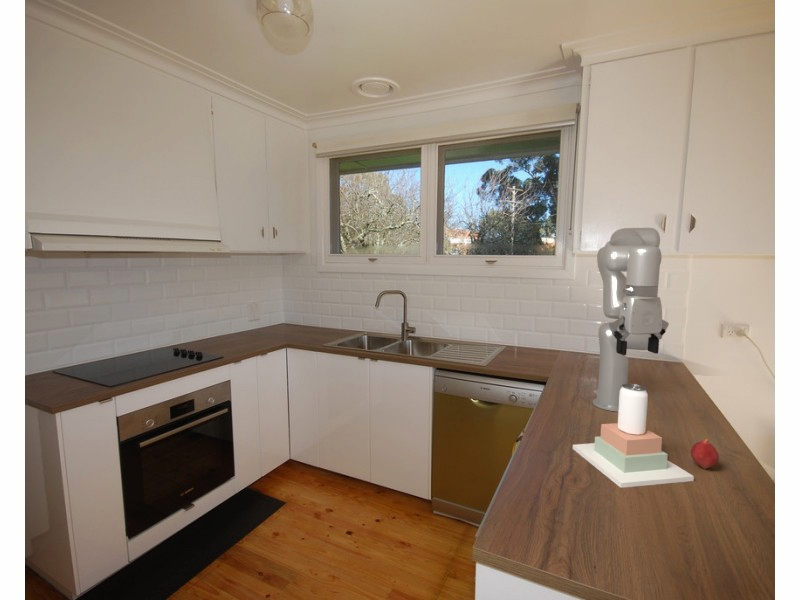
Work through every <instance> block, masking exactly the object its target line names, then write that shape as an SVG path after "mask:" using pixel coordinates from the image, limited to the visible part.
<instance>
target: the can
mask: <svg viewBox="0 0 800 600" xmlns="http://www.w3.org/2000/svg"><path fill="white" fill-rule="evenodd" d="M648 398H649V395H648V392H647V387H645V386H643V385H641V384H636V383H627V384H623V385H622V388H621V389H620V395H619V411H618V412H617V423H618V428H619V430H620V431H622V432H624V433H627V434H631V435H643V434H644V433H645V430H646V429H647V428H646V427H647V416H648V415H647V413H648V401H649V400H648Z"/></svg>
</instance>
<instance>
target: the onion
mask: <svg viewBox="0 0 800 600" xmlns="http://www.w3.org/2000/svg"><path fill="white" fill-rule="evenodd" d="M690 456H691V458H692V459H693V461H694V462H695V463H696V464H697V465H698V466H700V468H702V469H704V470H706V469H708V468H711V467H713V466H715V465H716V464H718V463H719V460H720V459H719V458H720V455H719V452H718V451H717V449H716V447H715V446H714V445H712V444H711V443H710V442H709V439H703V440H701V441H699V442H698V441H697V442H696V443H694V444H693V445H692V447H691V449H690Z"/></svg>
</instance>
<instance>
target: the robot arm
mask: <svg viewBox="0 0 800 600" xmlns="http://www.w3.org/2000/svg"><path fill="white" fill-rule="evenodd" d="M660 244H661V237H660V233H659V231H658V230H657V229H655V228H654V227H626V228H625V227H624V228H620V229H617V230H616V231H614V232H613V233H612V234H611V236H610V238H609V241H607V242H606V244H605V245H604V246H603V247H601V248H599V249H598V252H597V254H596V255H597V257H596V263H597V269H598V271H599V274H600V276H601V279H602V282H603V285H602V287H603V289H602V291H603V293H602V309H603V314H604V316H605V317H606V318H609V319H613V320H615V321H609V322H605V323H602V324H601V325H600V326H599V328H598V341H599V365H598V366H599V367H598V368H599V369H598V381H597V382H598V385H597V388H596V389H594V390H593V393H594V394H595V395H596V397H595V398H593V399H592V404H593V406H595V407H597V408H598V409H602V410H605V411H611V412H617V413H618V411H619V395H620V389H621V388H622V385H623V384H629V383H628V382H629V381H628V380H629V367H630V366H629V365H630V364H629V359H628V357H627V356H626V355H627V350H632V351H633V350H637V351H648V352H650V353H653V354H658V353H659V347H660V340H662V339H663V335H664V334H665V333H666V332H667V331H666V330H667V329H668V327H669V325H670V323H669V322H668V321H667V320H664V319H663V307H662V301H661V297H658V293H659V281H660V267H661V264H662V252H661V249H660ZM623 272H626V275H625V274H624V273H623Z"/></svg>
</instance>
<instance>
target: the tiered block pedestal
mask: <svg viewBox="0 0 800 600" xmlns="http://www.w3.org/2000/svg"><path fill="white" fill-rule="evenodd" d="M662 444H663V437H661V436H659V435H657V434H656V433H655V432H652V431H651V430H649V429H647V428H646V430H645V433H644V434H643V435H631V434H627V433H624V432H622V431H620V430H619V428H618V422H615V423H602V424H601V425H600V436H594V442H591V443H580V444H572V450H573V451H575V452H576V453H577V454H579V456H580V457H582V458H583V459H585V461H587V462H588V463H589V464H590V465H592V466H593V467H595V468H596V469H597V470H599V472H600V473H602V474H603V475H604V476H606V477H607V478H608V479H609V480H611V481H612V482H613V483H614V484H616V486H618V487H619V488H621V489H622V488H633V487H642V486H643V487H644V486H655V485H663V484H664V485H665V484H672V483H673V484H676V483H685V482H694V479H695V477H694V475H693V474H691V473H689V472H688V471H686V470H685V469H683V468H681V467H679V466H678V465H676V464H675V463H673V462H671V461H670V460H668V453H666V452H665V451H663V450H662V446H663V445H662Z"/></svg>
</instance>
